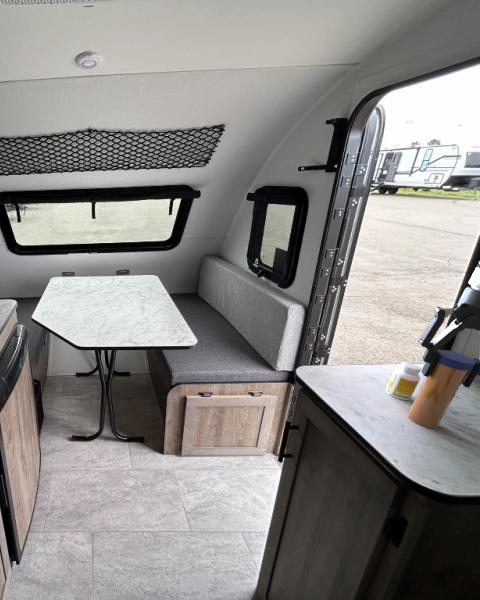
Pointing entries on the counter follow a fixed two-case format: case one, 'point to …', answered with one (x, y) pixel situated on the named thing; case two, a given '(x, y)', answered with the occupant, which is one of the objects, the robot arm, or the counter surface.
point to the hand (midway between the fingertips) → (444, 379)
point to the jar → (436, 395)
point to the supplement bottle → (404, 381)
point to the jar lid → (456, 360)
